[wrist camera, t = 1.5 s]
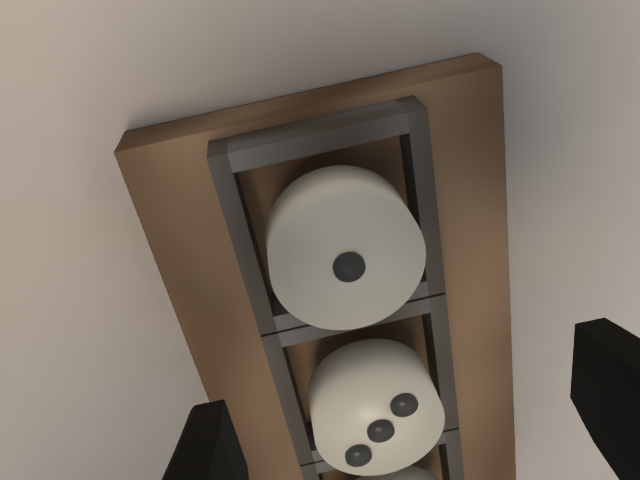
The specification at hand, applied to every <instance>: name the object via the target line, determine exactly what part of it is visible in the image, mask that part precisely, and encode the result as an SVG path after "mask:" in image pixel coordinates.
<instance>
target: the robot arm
mask: <svg viewBox="0 0 640 480" xmlns="http://www.w3.org/2000/svg"><path fill="white" fill-rule="evenodd" d="M570 397H571V399H572V401H573V403H574V405H575V407H576V409H577V411H578V413H579V415H580V417H581V419H582V421H583V423H584V425H585V427H586V428H587V430H588V432H589V434H590V436H591V438H592V439H593V441H594V443H595V444H596V446H597V447H598V449H599V450H600V452H601V453H602V455H603V456H604V458H605V459H606V461H607V462H608V464H609V465H610V467H611V468H612V469H613V471H614V472H615V474H616V475H617V477H618V478H619V480H640V338H638V337H637V336H635V335H633V334H632V333H630V332H628V331H627V330H625V329H623V328H622V327H620V326H618V325H617V324H615V323H613V322H611V321H610V320H608V319H606V318H601V319H596V320H591V321H587V322H582V323H577V324H575V335H574V349H573V364H572V379H571V394H570ZM162 480H249V474H248V466H247V463H246V460H245V457H244V454H243V451H242V448H241V446H240V443H239V440H238V437H237V434H236V431H235V428H234V425H233V422H232V420H231V417H230V414H229V411H228V408H227V405H226V402H225V399H223V400H218V401H213V402H209V403H204V404H199V405H195V406H194V407H193V408H192V409H191V411H190V413H189V416H188V419H187V421H186V424H185V426H184V429H183V431H182V434H181V436H180V439H179V441H178V444H177V446H176V449H175V451H174V453H173V455H172V458H171V460H170V462H169V465H168V467H167V469H166V471H165V473H164V476H163V478H162Z"/></svg>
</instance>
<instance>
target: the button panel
mask: <svg viewBox="0 0 640 480" xmlns="http://www.w3.org/2000/svg"><path fill="white" fill-rule="evenodd" d="M114 154H115V156H116V159H117V162H118V164H119V167H120V169H121V172H122V175H123V177H124V180H125V182H126V185H127V188H128V190H129V193H130V196H131V198H132V201H133V203H134V206H135V209H136V211H137V214H138V216H139V219H140V222H141V224H142V227H143V229H144V232H145V235H146V237H147V240H148V242H149V245H150V248H151V250H152V253H153V255H154V258H155V261H156V263H157V266H158V268H159V271H160V274H161V276H162V279H163V282H164V284H165V287H166V289H167V292H168V295H169V297H170V300H171V302H172V305H173V308H174V310H175V313H176V315H177V318H178V321H179V323H180V326H181V328H182V331H183V334H184V336H185V339H186V341H187V344H188V347H189V349H190V352H191V355H192V357H193V360H194V362H195V365H196V368H197V370H198V373H199V375H200V378H201V381H202V383H203V386H204V388H205V391H206V394H207V396H208V399H209V401H210V402H213V401H218V400H223V399H225V402H226V405H227V408H228V411H229V414H230V417H231V420H232V422H233V425H234V428H235V431H236V434H237V437H238V440H239V443H240V446H241V448H242V451H243V454H244V457H245V460H246V463H247V466H248V474H249V480H357V479H358V478H360V477H361V475H353V474H349V473H345V472H342V471H340V470H338V469H336V468H334V467H332V466H331V465H329V464H328V463H327V462H326V461H325V460H324V459H323V458H322V457H321V455H320V454H319V452H318V450H317V448H316V445H315V440H314V433H313V427H312V421H311V414H310V408H309V402H308V384H309V381H310V378H311V376H312V374H313V372H314V370H315V369H316V367H317V366H318V365H319V364H320V363H321V361H322V360H323V359H324V358H326V357H327V356H328V355H329V354H331V353H332V352H334V351H335V350H337V349H339V348H341V347H342V346H345V345H347V344H350V343H353V342H356V341H360V340H365V339H388V340H393V341H397V342H400V343H402V344H404V345H406V346H408V347H410V348H411V349H413V350H414V351H415V352H416V353H417V354H418V355H419V356H420V357H421V359H422V360H423V362H424V364H425V366H426V369H427V371H428V373H429V376H430V378H431V380H432V382H433V385H434V387H435V389H436V392H437V394H438V396H439V399H440V401H441V403H442V406H443V408H444V413H445V423H444V428H443V431H442V434H441V436H440V438H439V440H438V441H437V443H436V444H435V445H434V447H433V448H432V449H431V450H430V451H429V452H428V453H427V454H426V455H425V456H424V457H422V458H421V459H420V460H418V461H417V462H415V463H413V464H412V465H410V466H416V467H420V468H423V469H425V470H427V471H429V472H430V473H432V474H433V475H434V476H435V477H436V478H437V479H438V480H516V465H515V436H514V407H513V377H512V348H511V318H510V289H509V259H508V230H507V200H506V171H505V142H504V112H503V83H502V65H500V64H498V63H497V62H495V61H493V60H491V59H489V58H487V57H485V56H483V55H481V54H479V53H475V54H470V55H466V56H461V57H457V58H452V59H448V60H443V61H439V62H434V63H430V64H425V65H421V66H416V67H412V68H408V69H403V70H399V71H394V72H390V73H385V74H381V75H376V76H372V77H367V78H363V79H358V80H354V81H349V82H345V83H340V84H336V85H332V86H327V87H323V88H318V89H314V90H309V91H305V92H300V93H296V94H291V95H287V96H282V97H278V98H273V99H269V100H264V101H260V102H256V103H251V104H247V105H242V106H238V107H233V108H229V109H224V110H220V111H215V112H211V113H206V114H202V115H197V116H193V117H188V118H184V119H180V120H175V121H171V122H166V123H162V124H157V125H153V126H148V127H144V128H139V129H135V130H130V131H126V132H124V134H123V136H122V138H121V140H120V142H119V144H118V146H117V147H116V149H115V151H114ZM334 165H349V166H356V167H361V168H365V169H367V170H370V171H373V172H374V173H376V174H378V175H380V176H381V177H383V178H384V179H386V180H387V181H388V182H389V183H390V184H391V185H392V186H393V187H394V188H395V189H396V191H397V192H398V193H399V195H400V197H401V198H402V200H403V202H404V203H405V205H406V206H407V208H408V210H409V211H410V213H411V215H412V216H413V218H414V219H415V221H416V223H417V225H418V226H419V228H420V230H421V232H422V235H423V238H424V242H425V247H426V262H425V268H424V272H423V275H422V278H421V280H420V283H419V284H418V286H417V288H416V290H415V291H414V293H413V294H412V295H411V297H410V298H409V299H408V300H407V301H406V302H405V304H404V305H403V306H401V307H400V308H399V309H398V310H397V311H396V312H394V313H393V314H391V315H390V316H388V317H386V318H385V319H383V320H381V321H379V322H376V323H374V324H372V325H369V326H365V327H362V328H357V329H351V330H329V329H322V328H319V327H315V326H312V325H309V324H307V323H305V322H303V321H301V320H299V319H297V318H296V317H295V316H293V315H292V314H291V313H289V312H288V311H287V310H286V309H285V308H284V307H283V305H282V304H281V303H280V301H279V300H278V298H277V297H276V295H275V293H274V291H273V288H272V285H271V281H270V276H269V267H268V257H267V247H266V223H267V219H268V216H269V213H270V211H271V208H272V206H273V204H274V203H275V201H276V199H277V198H278V197H279V195H280V194H281V193H282V192H283V191H284V190H285V189H286V188H287V187H288V186H289V185H290V184H291V183H292V182H294V181H295V180H296V179H298V178H299V177H301V176H303V175H304V174H306V173H309V172H311V171H313V170H316V169H319V168H323V167H328V166H334Z"/></svg>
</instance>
